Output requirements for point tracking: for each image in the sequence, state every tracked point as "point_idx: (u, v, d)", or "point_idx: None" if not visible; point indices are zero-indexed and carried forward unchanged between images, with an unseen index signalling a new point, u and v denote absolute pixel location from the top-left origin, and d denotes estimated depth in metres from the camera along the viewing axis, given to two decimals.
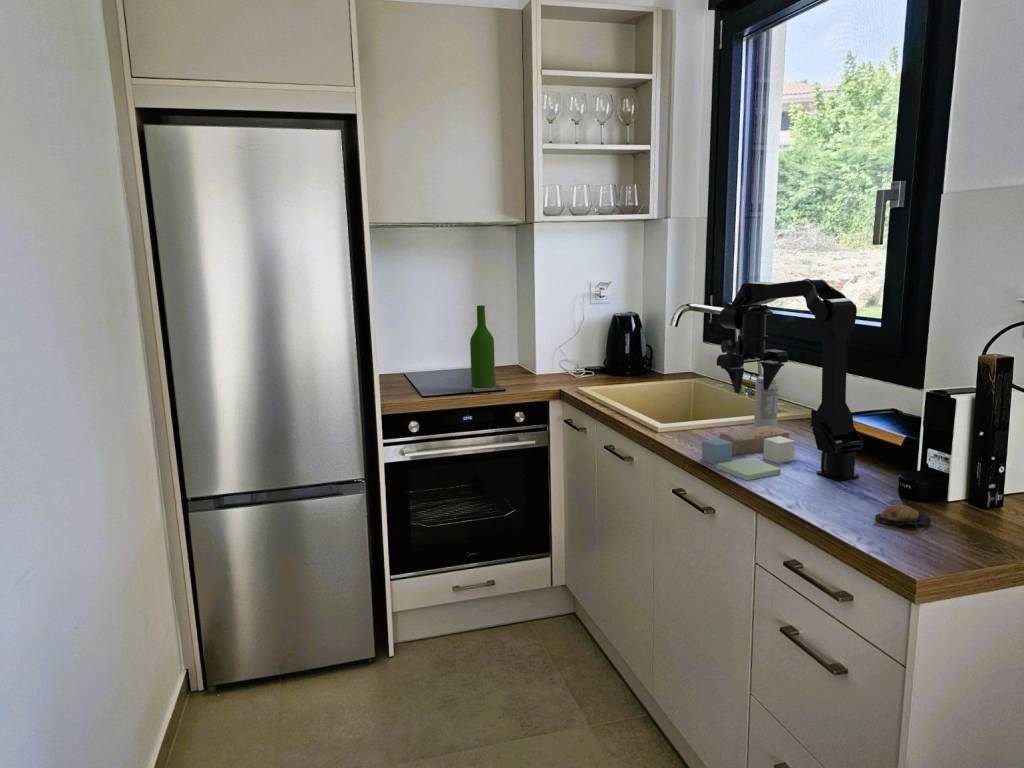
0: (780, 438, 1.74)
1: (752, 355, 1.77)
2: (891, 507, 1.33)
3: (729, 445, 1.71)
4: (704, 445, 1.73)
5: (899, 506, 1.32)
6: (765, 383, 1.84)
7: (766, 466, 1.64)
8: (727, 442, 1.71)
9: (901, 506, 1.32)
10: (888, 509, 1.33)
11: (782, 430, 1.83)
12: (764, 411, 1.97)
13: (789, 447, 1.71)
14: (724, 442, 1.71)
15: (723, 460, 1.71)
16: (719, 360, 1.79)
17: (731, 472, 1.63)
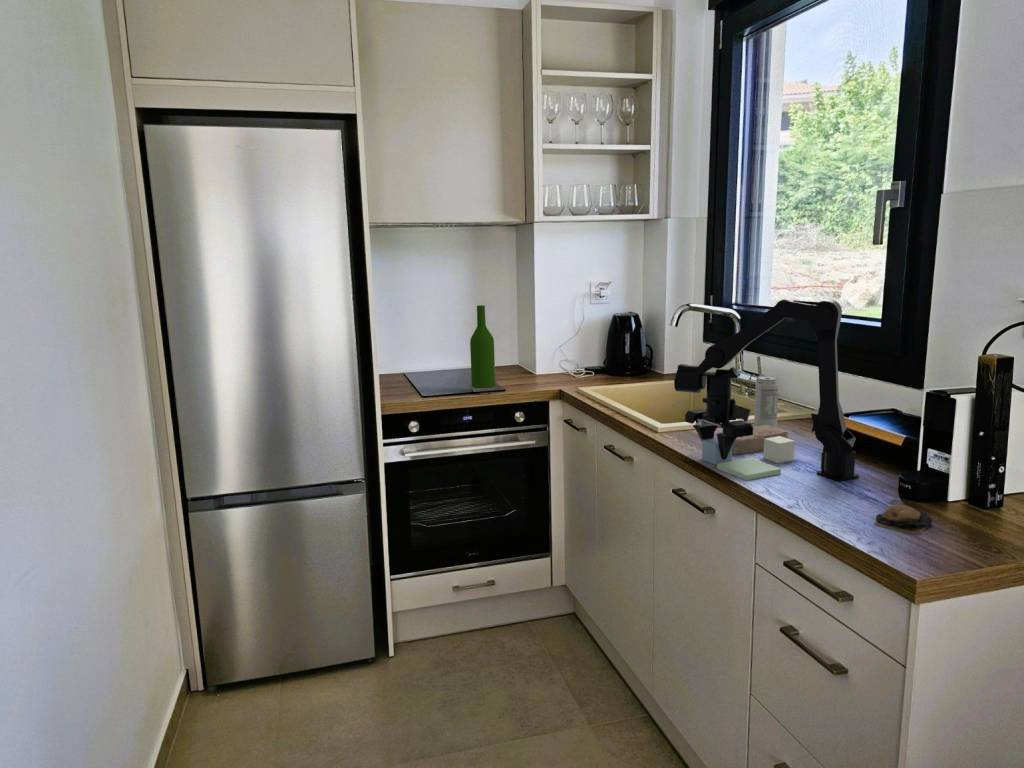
0: (780, 438, 1.74)
1: None
2: (892, 507, 1.33)
3: None
4: (704, 445, 1.73)
5: (900, 506, 1.32)
6: None
7: (766, 466, 1.64)
8: None
9: (902, 506, 1.32)
10: (889, 509, 1.32)
11: (780, 429, 1.84)
12: (764, 411, 1.97)
13: (789, 447, 1.71)
14: None
15: (723, 460, 1.71)
16: None
17: (731, 472, 1.63)
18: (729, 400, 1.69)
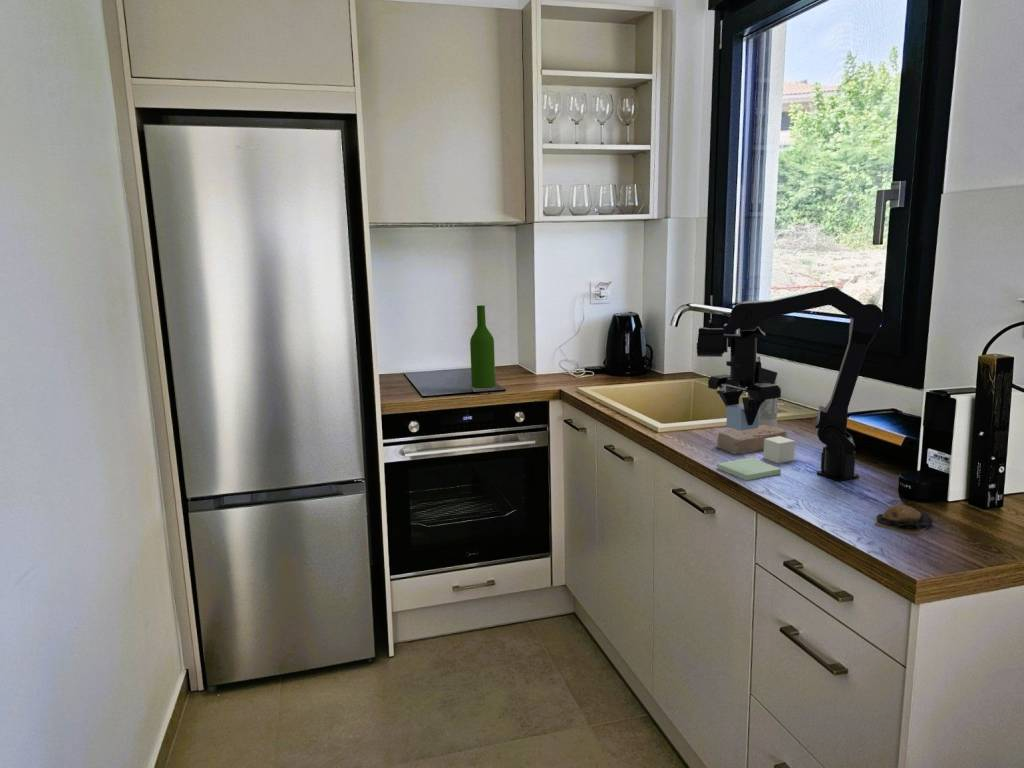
0: (780, 438, 1.74)
1: None
2: (893, 507, 1.32)
3: None
4: (728, 411, 1.65)
5: (901, 506, 1.32)
6: None
7: (766, 466, 1.64)
8: None
9: (903, 506, 1.32)
10: (889, 509, 1.32)
11: (779, 429, 1.84)
12: (764, 411, 1.97)
13: (789, 447, 1.71)
14: None
15: (749, 425, 1.63)
16: None
17: (731, 472, 1.63)
18: (755, 362, 1.60)
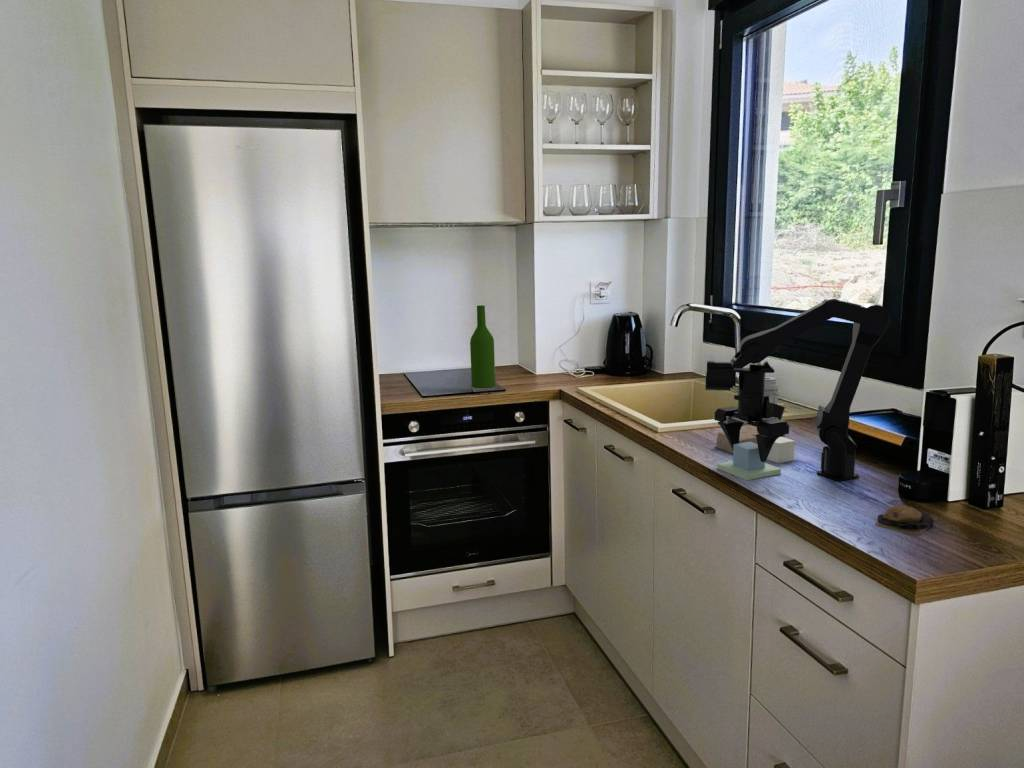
0: (780, 438, 1.74)
1: None
2: (893, 507, 1.32)
3: None
4: (735, 449, 1.64)
5: (902, 507, 1.32)
6: None
7: (766, 466, 1.64)
8: None
9: (903, 507, 1.32)
10: (890, 509, 1.32)
11: None
12: None
13: (789, 447, 1.71)
14: (757, 446, 1.62)
15: (756, 465, 1.62)
16: None
17: (731, 472, 1.63)
18: (763, 397, 1.59)
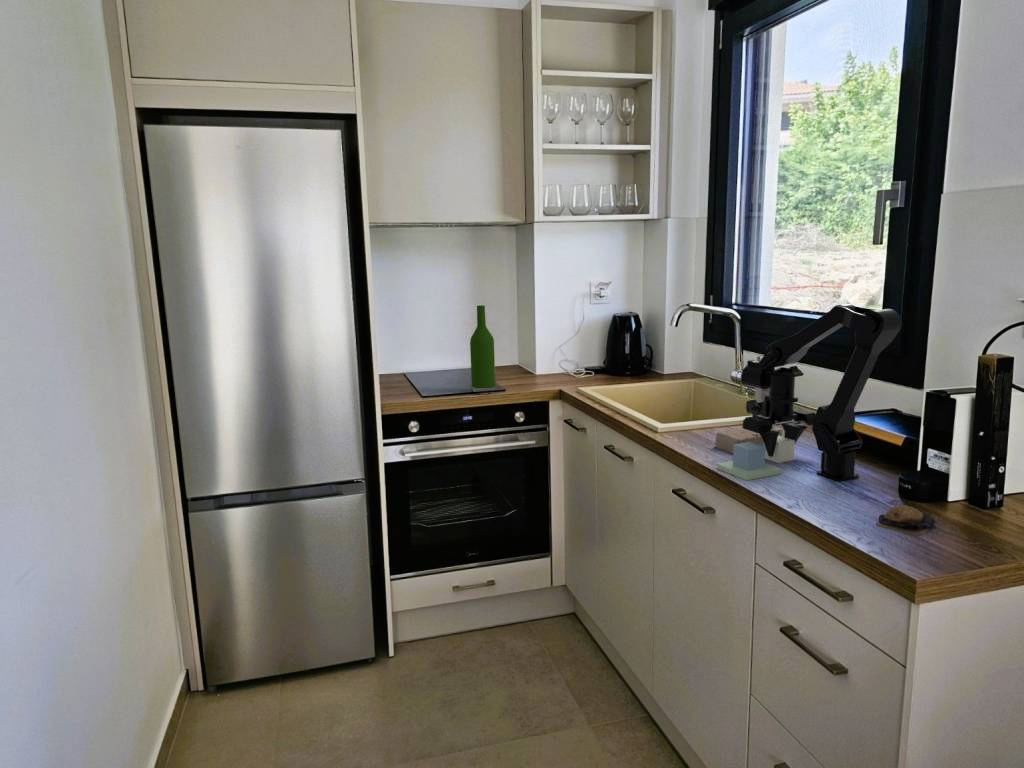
0: (780, 438, 1.74)
1: (780, 418, 1.68)
2: (895, 508, 1.32)
3: (762, 449, 1.62)
4: (735, 449, 1.64)
5: (903, 507, 1.32)
6: None
7: (766, 466, 1.64)
8: (760, 446, 1.62)
9: (905, 507, 1.32)
10: (891, 510, 1.32)
11: (775, 427, 1.86)
12: None
13: (789, 447, 1.71)
14: (757, 446, 1.62)
15: (756, 465, 1.62)
16: (746, 423, 1.69)
17: (731, 472, 1.63)
18: None
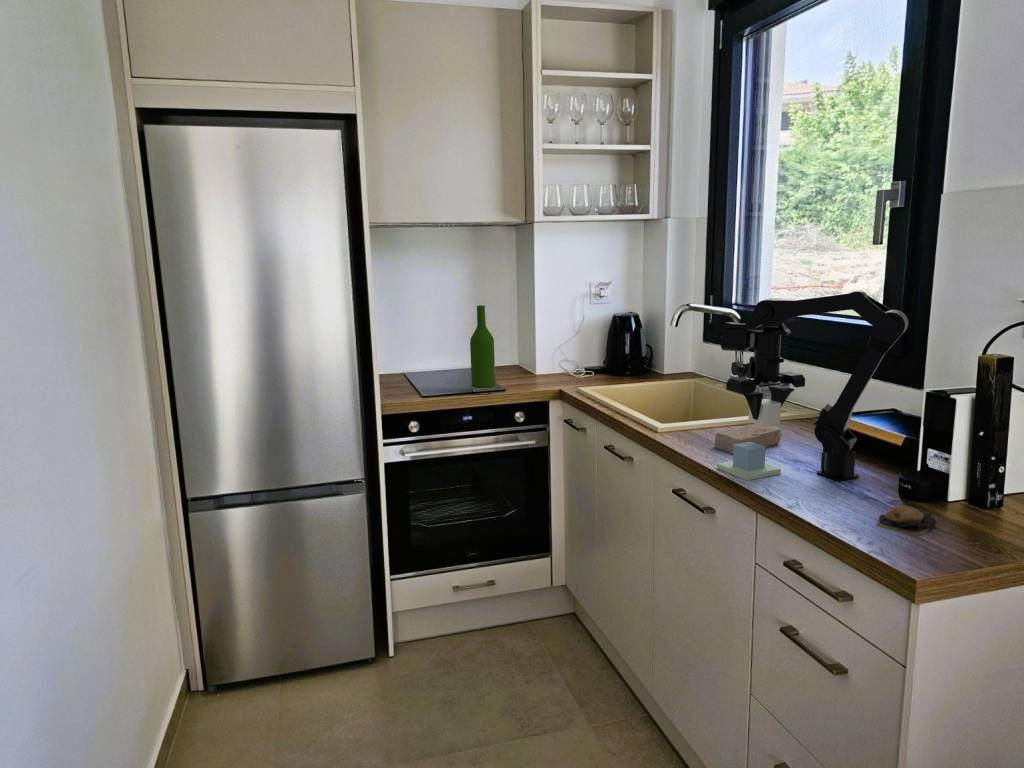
0: (766, 400, 1.67)
1: (765, 379, 1.62)
2: (895, 508, 1.32)
3: (762, 449, 1.62)
4: (735, 449, 1.64)
5: (904, 507, 1.32)
6: None
7: (766, 466, 1.64)
8: (760, 446, 1.62)
9: (905, 507, 1.32)
10: (892, 510, 1.32)
11: (773, 427, 1.86)
12: None
13: (775, 409, 1.64)
14: (757, 446, 1.62)
15: (756, 465, 1.62)
16: (729, 384, 1.63)
17: (731, 472, 1.63)
18: None
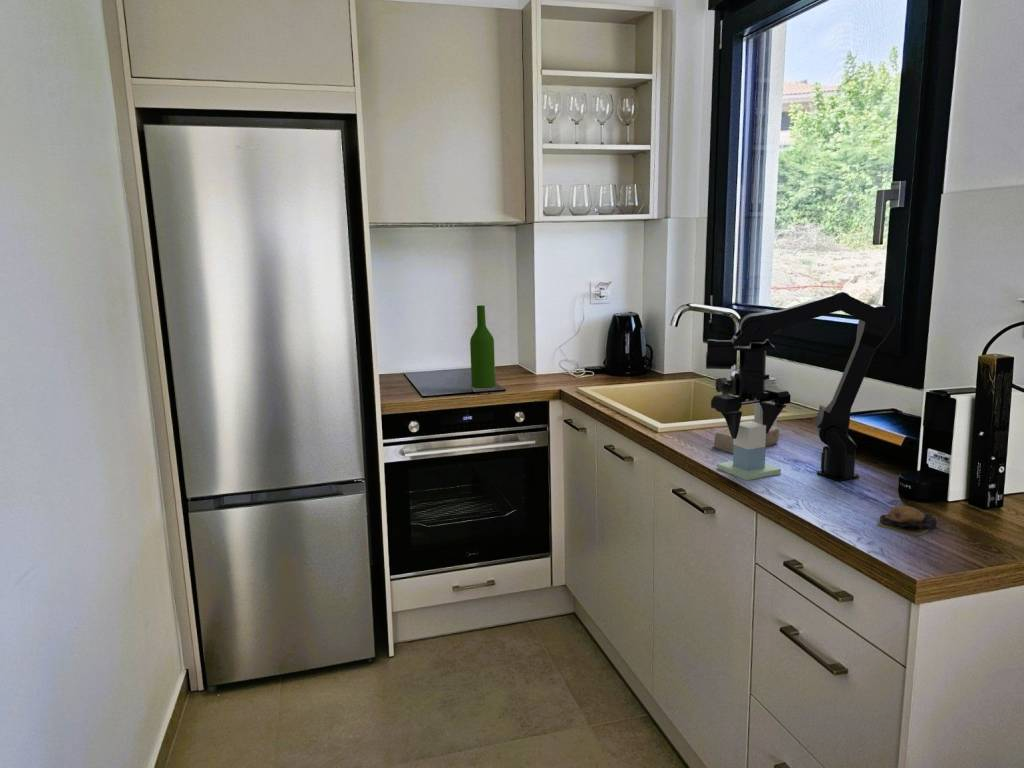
0: (751, 423, 1.64)
1: (751, 397, 1.58)
2: (896, 508, 1.32)
3: (762, 449, 1.62)
4: (735, 449, 1.64)
5: (904, 507, 1.31)
6: None
7: (766, 466, 1.64)
8: None
9: (906, 507, 1.31)
10: (893, 510, 1.32)
11: (771, 427, 1.87)
12: None
13: (760, 432, 1.61)
14: None
15: (756, 465, 1.62)
16: (714, 402, 1.59)
17: (731, 472, 1.63)
18: None
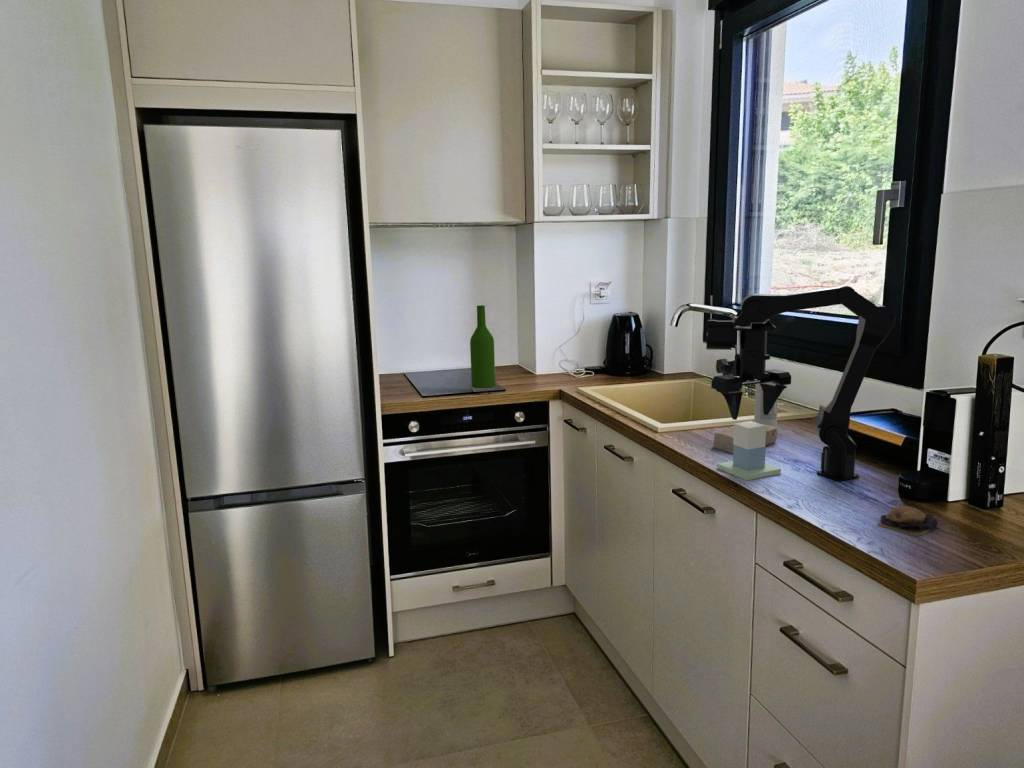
0: (751, 423, 1.64)
1: (751, 377, 1.57)
2: (897, 508, 1.32)
3: (762, 449, 1.62)
4: (735, 449, 1.64)
5: (905, 507, 1.31)
6: (765, 407, 1.64)
7: (766, 466, 1.64)
8: None
9: (907, 508, 1.31)
10: (893, 510, 1.32)
11: (769, 426, 1.88)
12: None
13: (760, 432, 1.61)
14: None
15: (756, 465, 1.62)
16: (714, 382, 1.58)
17: (731, 472, 1.63)
18: None
